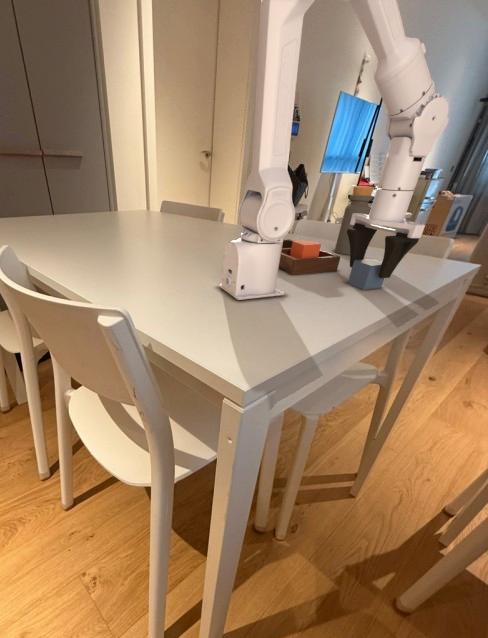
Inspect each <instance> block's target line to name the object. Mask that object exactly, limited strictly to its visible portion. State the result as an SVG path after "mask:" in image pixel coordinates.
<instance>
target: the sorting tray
mask: <svg viewBox="0 0 488 638" xmlns="http://www.w3.org/2000/svg"><path fill="white" fill-rule="evenodd" d="M293 241H295V240H293V239H291V238H287V239H285V238H284V239H283V245H282V250H281V256H280V262H279V268H278V270H281V271H283V272H285V273H288V274H290V275H292V276H297V275H298V276H299V275H308V274H318V273H331V272H337V271H338V267H339V264H340V260H341V255H339V254H338V255H337V254H335V253H331V252H330V251H326V250H324V249H320V251H319V256H318V257H314V258H300V259H296V258H294V257H291V256H290V253H291V248H292V242H293Z"/></svg>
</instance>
